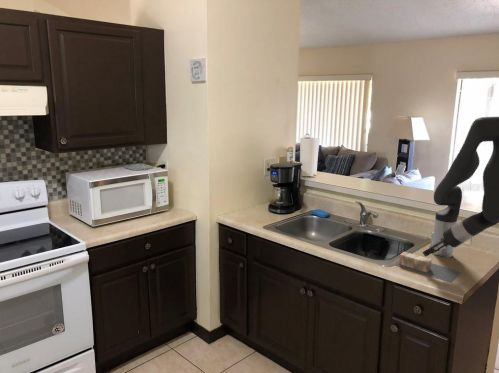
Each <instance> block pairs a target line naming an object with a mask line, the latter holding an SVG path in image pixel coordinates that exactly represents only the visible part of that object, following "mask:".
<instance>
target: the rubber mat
mask: <svg viewBox="0 0 499 373" xmlns="http://www.w3.org/2000/svg"><path fill="white" fill-rule="evenodd" d="M394 266H395V267H398V268H401V269H405V270H409V271H412V272H415V273H418V274H422V275H425V276H427V277H431V278H435V279H439V280H441V281H445V282H447V283H453V282H454V281H455V280H456V279H457V278H458V277H459V276H460V275H461V274H462V273H463V271H460V270H458V269H453V268H451V267H447V266H443V265H440V264H436V263H433V262H431V269H430V270H429V271H428V272H424V271H420V270H417V269H414V268H410V267H407V266H404V265H400V264H399V261H397V262H396V263H395V264H394Z"/></svg>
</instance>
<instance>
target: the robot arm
mask: <svg viewBox="0 0 499 373" xmlns="http://www.w3.org/2000/svg"><path fill="white" fill-rule="evenodd" d="M483 142H492V153H491V155H490V158H489V160H488V161H487V164H486V165H485V167H484V170H483V173H482V184H483V186H482V187H483V198H482V204H481V210H482V211H480V212H478V213H475V214H472V215H470V216H468V217H467V218H465V219H464V220H462V221H460V222H458V218H459V215H460V211H461V205H462V200H463V191H462V189H461V187H460V186H459V185H461V184H463V183H464V182H466V181H467V180H469V179H471V178H472V177H473V175H474V174H475V173H476V171H477V169H478V168H479V166H480V157H479V153H478V151H477V149H478V148H479V146H480V145H481V143H483ZM433 202H434V203H435V204H436V205H438V206H446V208H443V209H441V210H439V211H436V212H435V217H434V226H433V231H432V232H431V237H430V238H431V239H430V246H429V247H428V248H427V249H426V250H424V251H422V255H423V257H428V256H430V255H431V254H432V255H434V256H438V257H441V258H452V257H453V253H454V248H457V247H458V246H461V245H462V244H464V243H465V242H467V241H470V240H471V239H472V238H473V237H475V236H477V235H479V234H480V233H482V232H484V231H485V230H486V229H489V228H491V227H493V226H495V225H497V224H499V116H481V117H478V118H475V120H474V121H473V122H472V123H471V125H470V128H469V130H468V132H467V135H466V137H465V140H464V142H463V144H462V146H461V148H460V150H459V152H458V154H457V155H456V156H455V158H454V159H453V161H452V164H451V165H450V167H449V169H448V170H447V172H446V174H445V176H444V177H443V179H441V181H440V182H439V184H438V185H437V186H436V188H435V190H434V193H433Z"/></svg>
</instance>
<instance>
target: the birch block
mask: <svg viewBox="0 0 499 373" xmlns="http://www.w3.org/2000/svg"><path fill="white" fill-rule="evenodd" d="M432 260H433V259H432V258H427V257H426V256H421V255H417V254H413V253H410V252H406V251H403V252H402V253H400V254H399V260H398V262H399V264H400V265H404V266H407V267H410V268H414V269H417V270H420V271H424V272H428V271H429V270H430V269H431V263H432Z"/></svg>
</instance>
